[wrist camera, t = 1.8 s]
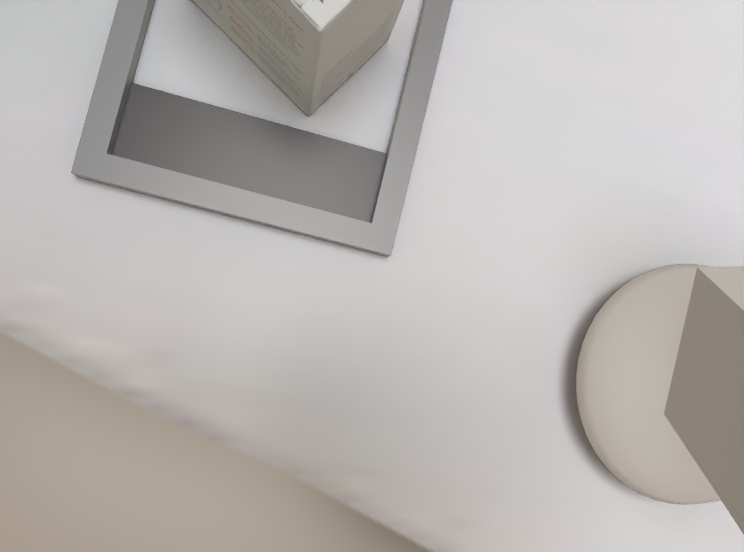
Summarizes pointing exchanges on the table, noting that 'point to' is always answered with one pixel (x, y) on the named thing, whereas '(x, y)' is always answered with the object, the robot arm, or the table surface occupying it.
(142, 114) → the grey square frame
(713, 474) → the robot arm
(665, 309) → the flower in vase
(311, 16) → the small box
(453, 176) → the table surface
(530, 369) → the table surface
